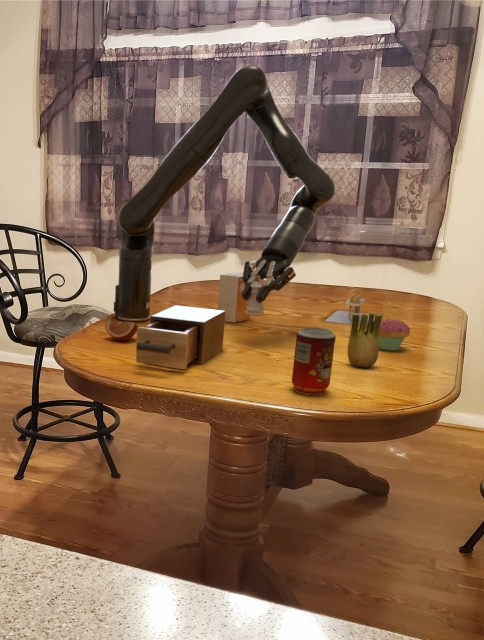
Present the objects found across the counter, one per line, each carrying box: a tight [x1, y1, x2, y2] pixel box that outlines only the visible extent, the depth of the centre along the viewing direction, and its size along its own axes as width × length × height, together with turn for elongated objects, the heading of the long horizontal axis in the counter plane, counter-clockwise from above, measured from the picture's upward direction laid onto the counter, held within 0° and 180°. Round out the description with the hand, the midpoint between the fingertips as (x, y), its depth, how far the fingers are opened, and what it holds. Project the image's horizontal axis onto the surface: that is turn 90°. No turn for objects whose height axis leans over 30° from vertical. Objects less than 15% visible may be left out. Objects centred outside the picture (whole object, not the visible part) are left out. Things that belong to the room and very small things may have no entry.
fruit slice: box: [104, 318, 139, 342], centre depth 173 cm, size 8×7×5 cm
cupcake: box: [379, 299, 411, 352], centre depth 164 cm, size 9×8×12 cm
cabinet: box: [150, 304, 226, 365], centre depth 160 cm, size 15×13×10 cm
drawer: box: [135, 320, 201, 370], centre depth 150 cm, size 18×11×8 cm, turn 149°
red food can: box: [291, 326, 336, 396], centre depth 133 cm, size 7×7×12 cm
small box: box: [217, 271, 251, 323], centre depth 195 cm, size 8×6×13 cm
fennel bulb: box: [347, 311, 383, 369], centre depth 150 cm, size 6×5×12 cm
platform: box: [324, 293, 377, 327], centre depth 198 cm, size 12×18×7 cm, turn 148°
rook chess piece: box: [246, 280, 265, 317], centre depth 166 cm, size 4×4×8 cm
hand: (251, 299), depth 164 cm, fingers closed on rook chess piece, 3 cm apart
